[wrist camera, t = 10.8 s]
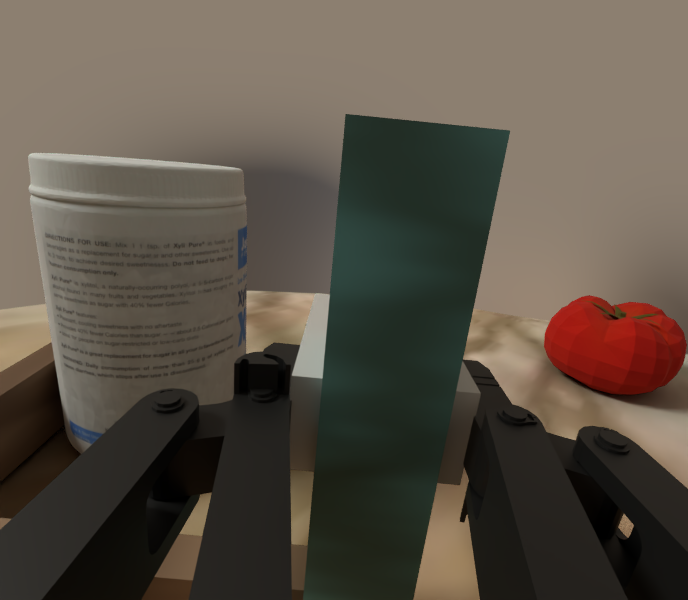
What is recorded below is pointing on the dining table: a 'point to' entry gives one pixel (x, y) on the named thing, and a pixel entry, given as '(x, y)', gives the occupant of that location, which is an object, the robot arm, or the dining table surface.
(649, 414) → the dining table surface
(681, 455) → the dining table surface
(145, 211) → the supplement tub
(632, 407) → the dining table surface
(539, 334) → the dining table surface
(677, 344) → the tomato
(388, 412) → the wooden frame
